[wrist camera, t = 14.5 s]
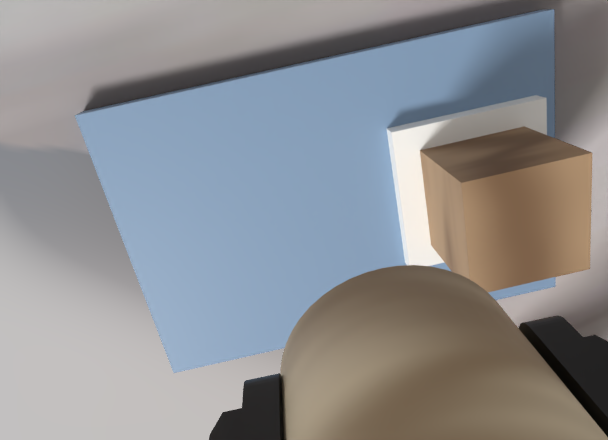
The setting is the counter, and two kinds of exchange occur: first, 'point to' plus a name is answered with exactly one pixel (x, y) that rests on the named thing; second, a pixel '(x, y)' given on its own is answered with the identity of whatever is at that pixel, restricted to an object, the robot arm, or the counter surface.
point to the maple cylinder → (420, 366)
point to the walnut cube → (509, 207)
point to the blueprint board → (303, 176)
